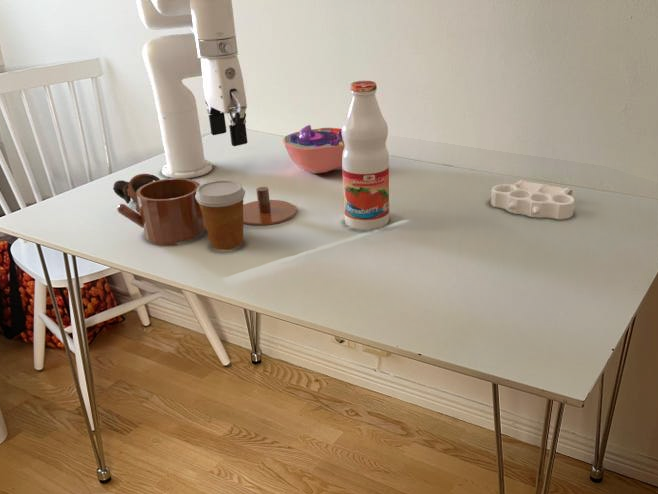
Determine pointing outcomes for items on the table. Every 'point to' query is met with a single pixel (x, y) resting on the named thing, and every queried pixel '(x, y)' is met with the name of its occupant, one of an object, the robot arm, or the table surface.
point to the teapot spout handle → (130, 214)
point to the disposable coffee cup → (222, 212)
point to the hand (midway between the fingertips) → (229, 139)
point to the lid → (267, 210)
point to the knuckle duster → (534, 200)
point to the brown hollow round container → (170, 211)
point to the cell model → (316, 149)
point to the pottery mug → (132, 187)
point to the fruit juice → (365, 160)
